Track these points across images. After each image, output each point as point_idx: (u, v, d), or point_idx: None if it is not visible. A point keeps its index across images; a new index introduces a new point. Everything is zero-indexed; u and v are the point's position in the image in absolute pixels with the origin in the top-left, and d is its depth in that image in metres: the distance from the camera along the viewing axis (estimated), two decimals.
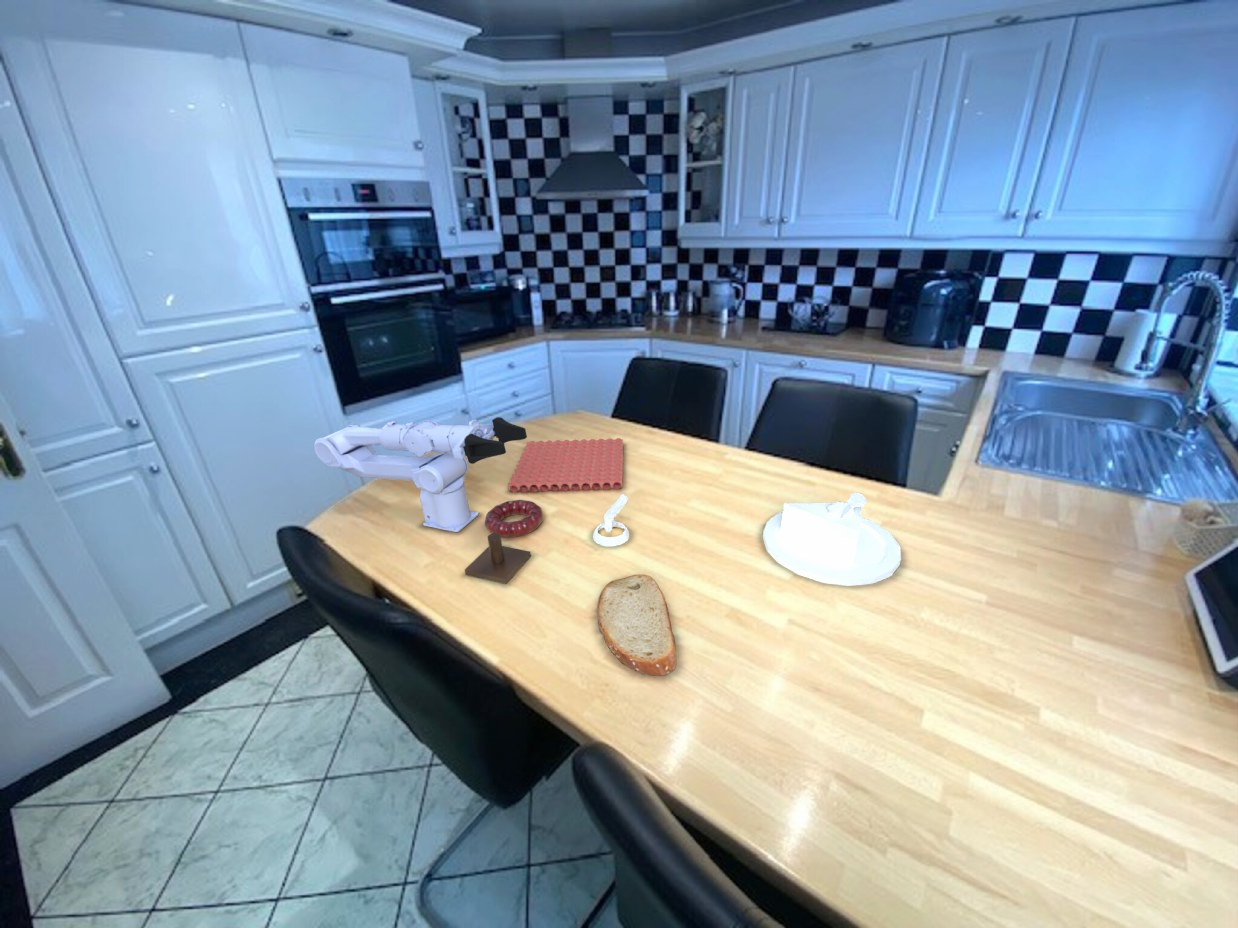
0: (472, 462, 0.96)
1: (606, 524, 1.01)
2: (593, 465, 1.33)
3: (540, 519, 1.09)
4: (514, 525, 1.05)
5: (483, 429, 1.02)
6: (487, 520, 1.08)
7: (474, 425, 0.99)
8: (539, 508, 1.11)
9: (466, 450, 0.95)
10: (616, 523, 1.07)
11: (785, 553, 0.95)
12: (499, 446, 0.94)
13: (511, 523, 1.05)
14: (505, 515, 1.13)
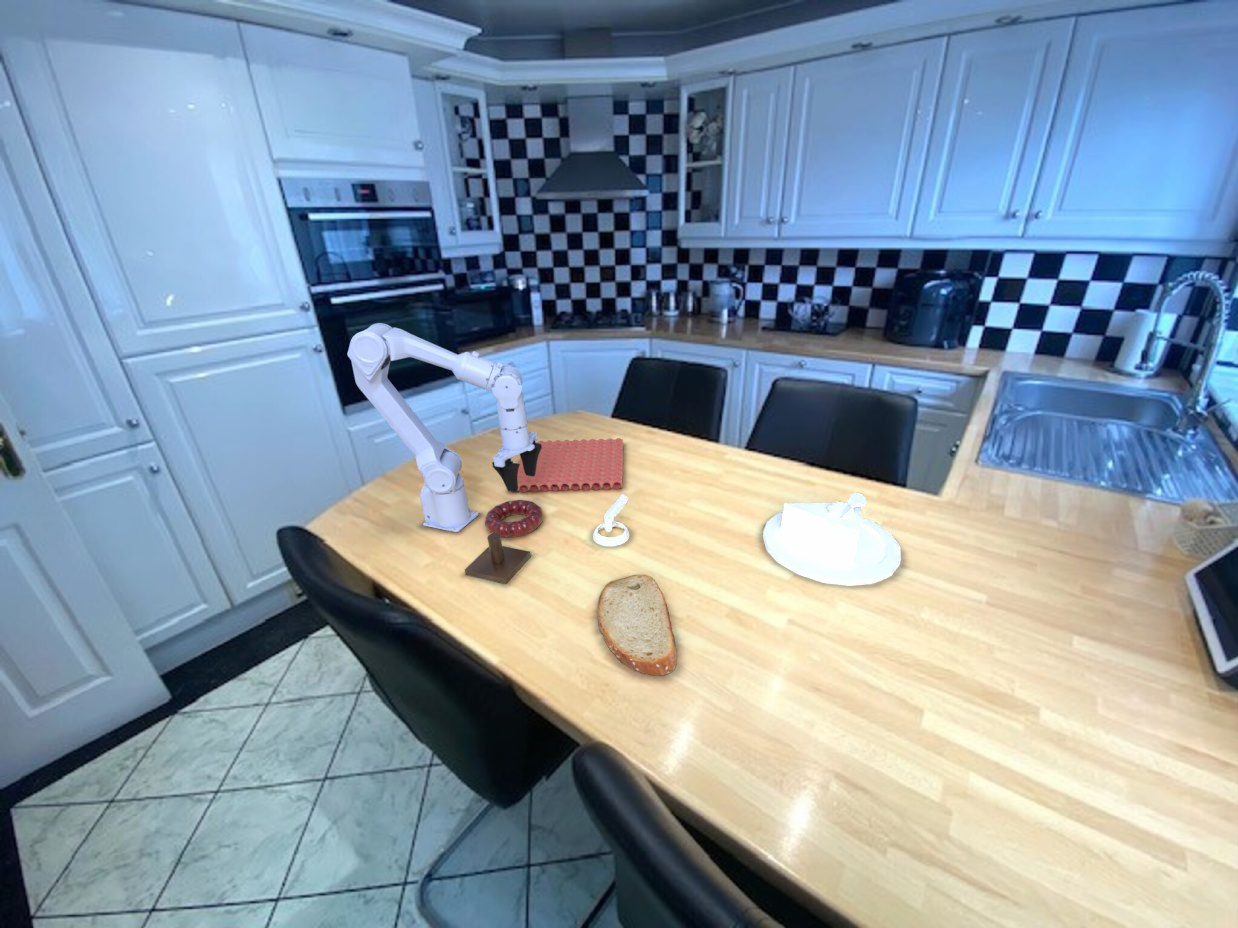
0: (493, 467, 1.05)
1: (606, 524, 1.01)
2: (593, 465, 1.33)
3: (540, 519, 1.09)
4: (514, 525, 1.05)
5: None
6: (487, 520, 1.08)
7: None
8: (539, 508, 1.11)
9: (503, 466, 1.03)
10: (616, 523, 1.07)
11: (785, 553, 0.95)
12: (513, 489, 1.08)
13: (511, 523, 1.05)
14: (505, 515, 1.13)
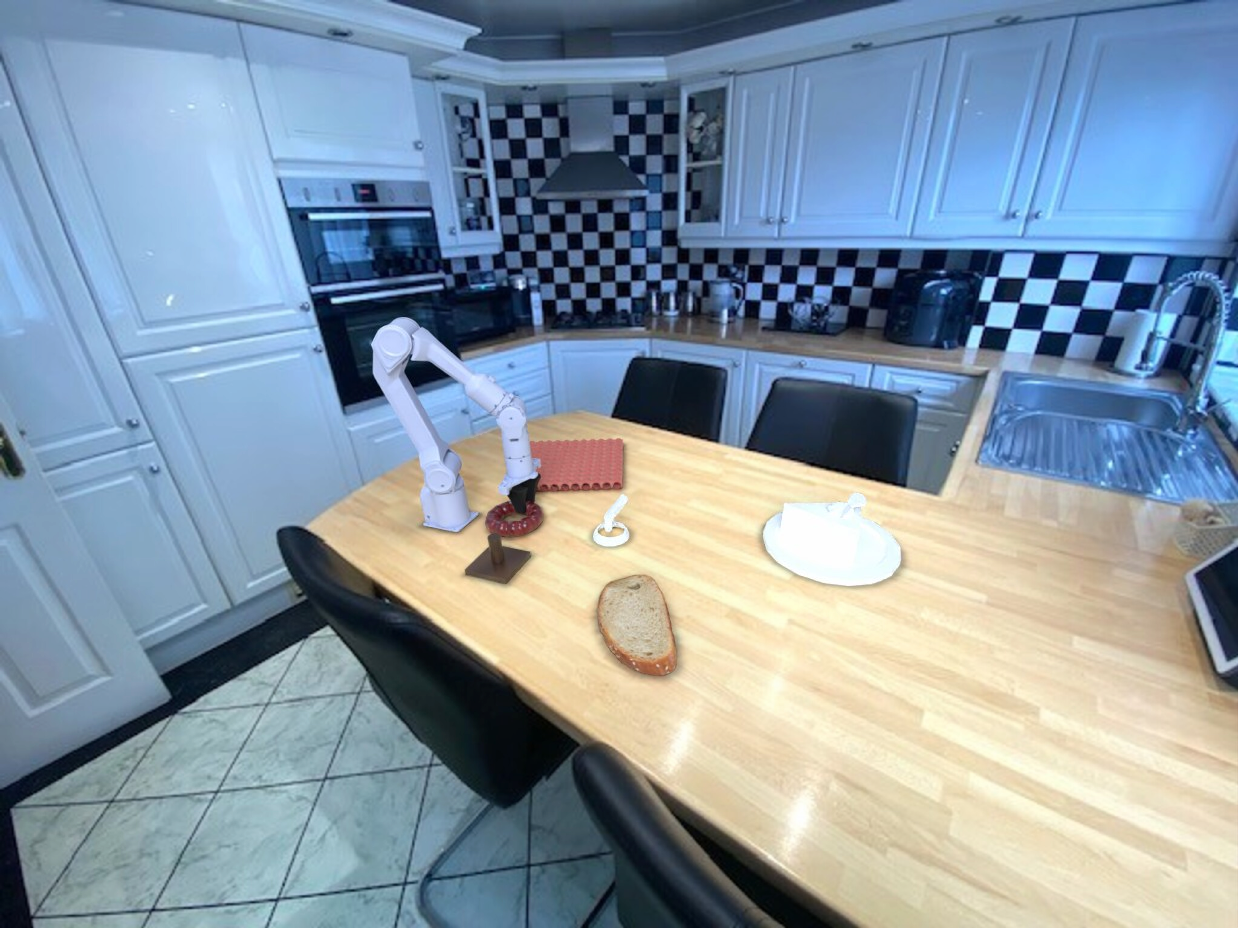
0: None
1: (606, 524, 1.01)
2: (593, 465, 1.33)
3: (540, 519, 1.09)
4: (515, 525, 1.05)
5: None
6: (487, 520, 1.08)
7: None
8: (539, 508, 1.11)
9: (512, 490, 1.08)
10: (616, 523, 1.07)
11: (785, 553, 0.95)
12: (521, 511, 1.12)
13: (511, 523, 1.05)
14: (505, 515, 1.13)
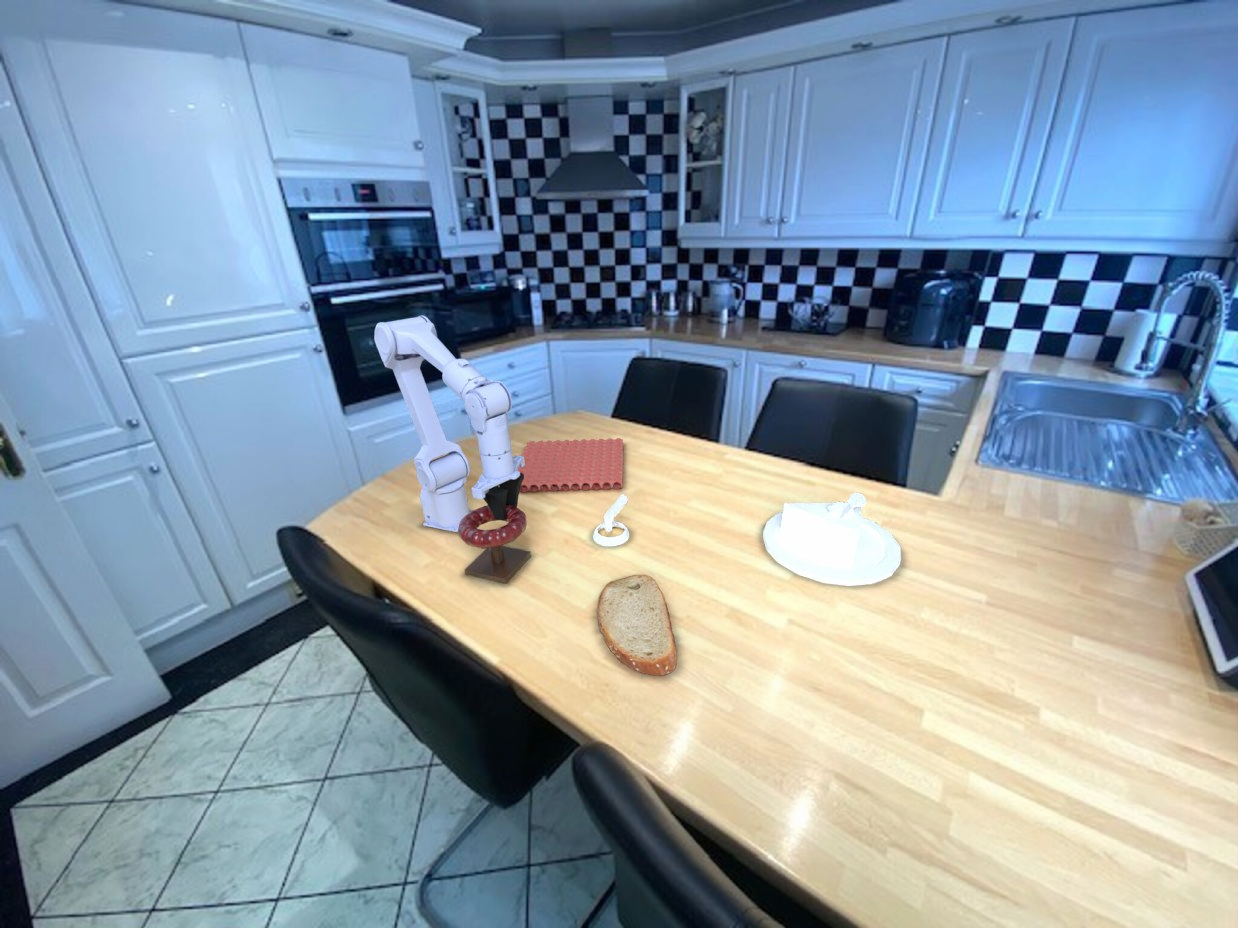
0: None
1: (606, 524, 1.01)
2: (593, 465, 1.33)
3: (523, 527, 0.92)
4: (492, 534, 0.89)
5: None
6: (460, 528, 0.91)
7: None
8: (522, 514, 0.95)
9: (489, 493, 0.91)
10: (616, 523, 1.07)
11: (785, 553, 0.95)
12: (501, 517, 0.95)
13: (488, 531, 0.89)
14: (483, 522, 0.96)
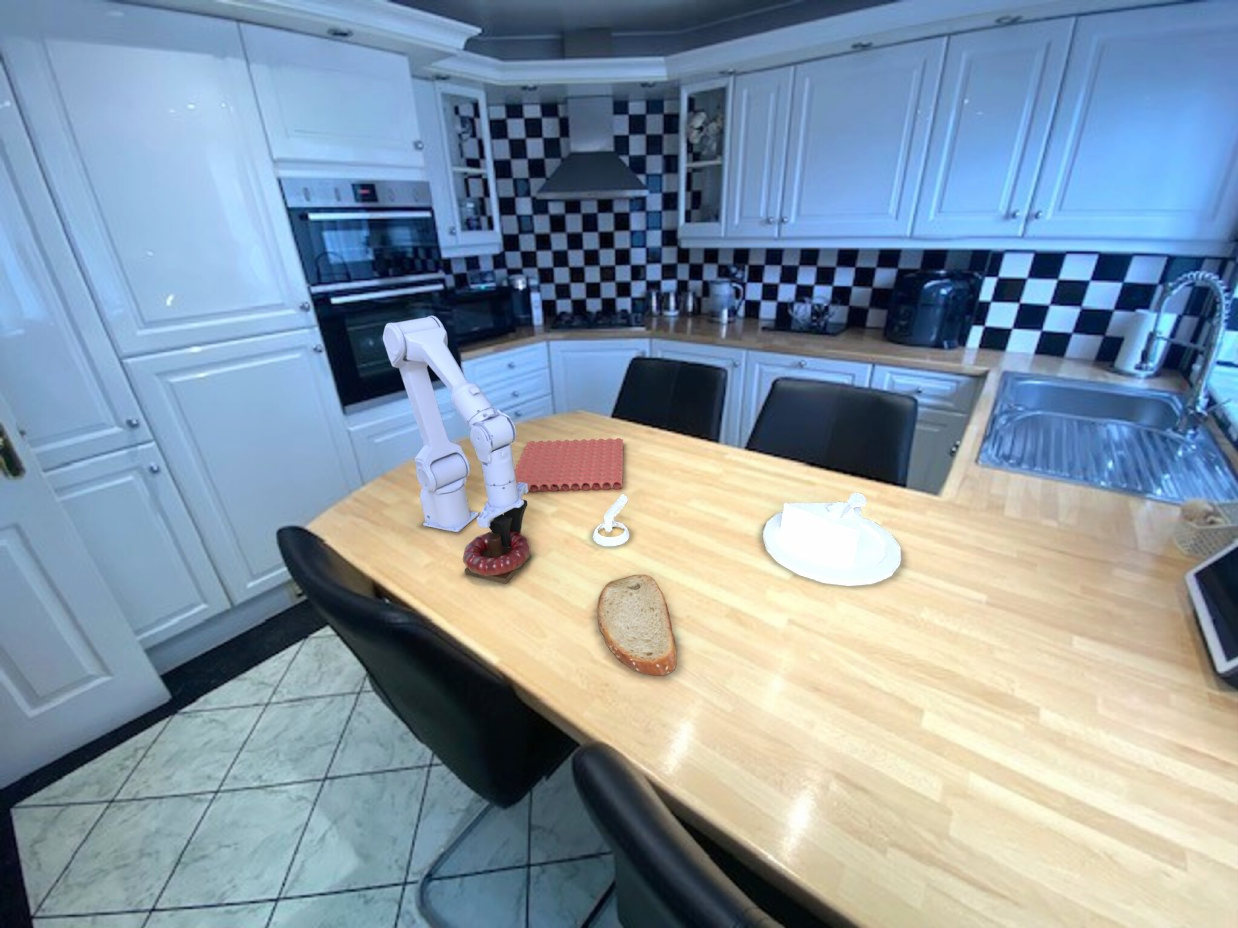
0: None
1: (606, 524, 1.01)
2: (593, 465, 1.33)
3: (526, 554, 0.95)
4: (496, 562, 0.91)
5: None
6: (465, 555, 0.94)
7: None
8: (526, 540, 0.97)
9: (493, 521, 0.94)
10: (616, 523, 1.07)
11: (785, 553, 0.95)
12: (505, 544, 0.98)
13: (492, 560, 0.91)
14: (487, 548, 0.99)
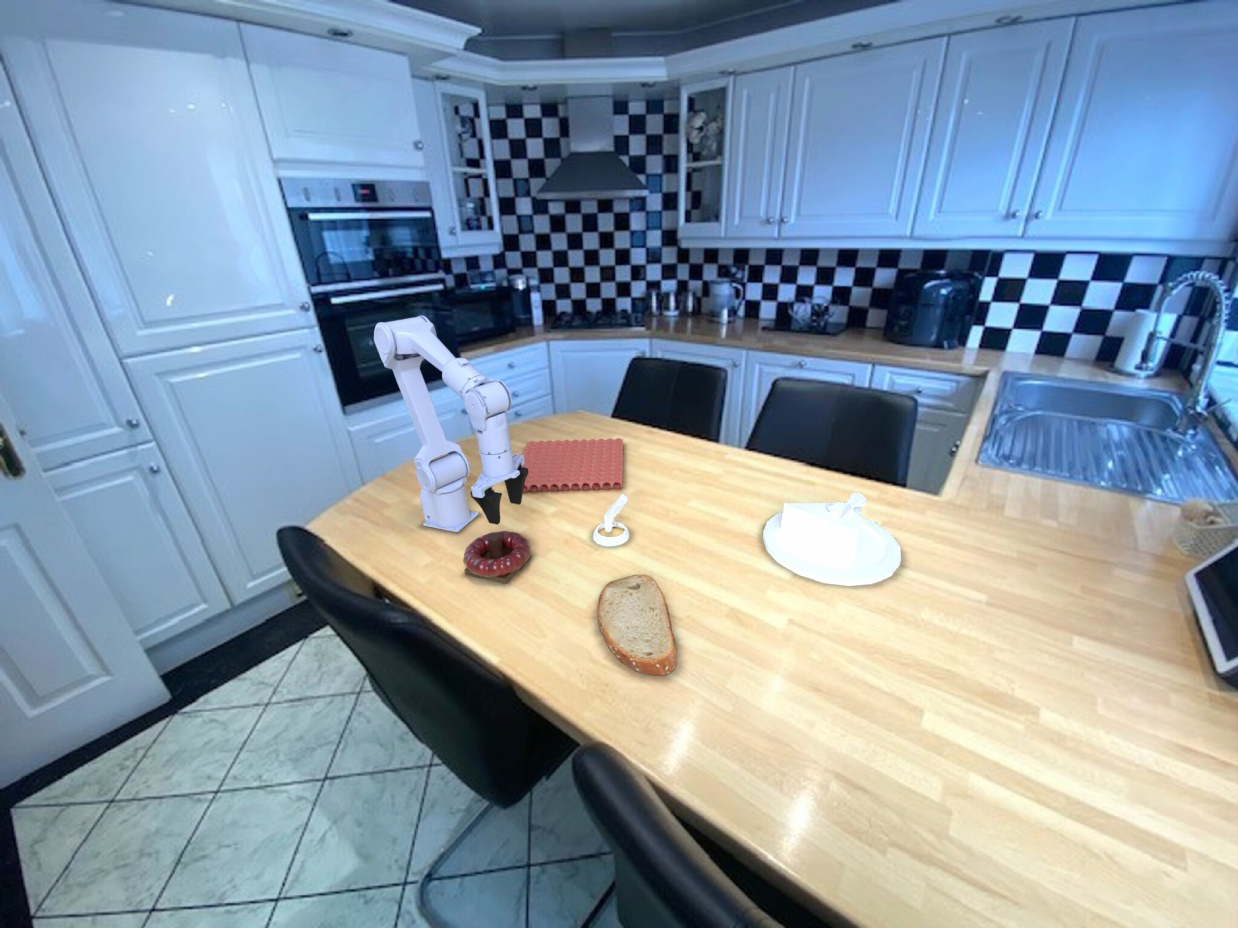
0: (472, 496, 0.91)
1: (606, 524, 1.01)
2: (593, 465, 1.33)
3: (527, 555, 0.95)
4: (496, 564, 0.91)
5: None
6: (466, 556, 0.94)
7: None
8: (526, 542, 0.97)
9: (482, 496, 0.90)
10: (616, 523, 1.07)
11: (785, 553, 0.95)
12: (494, 521, 0.94)
13: (493, 561, 0.92)
14: (487, 549, 0.99)
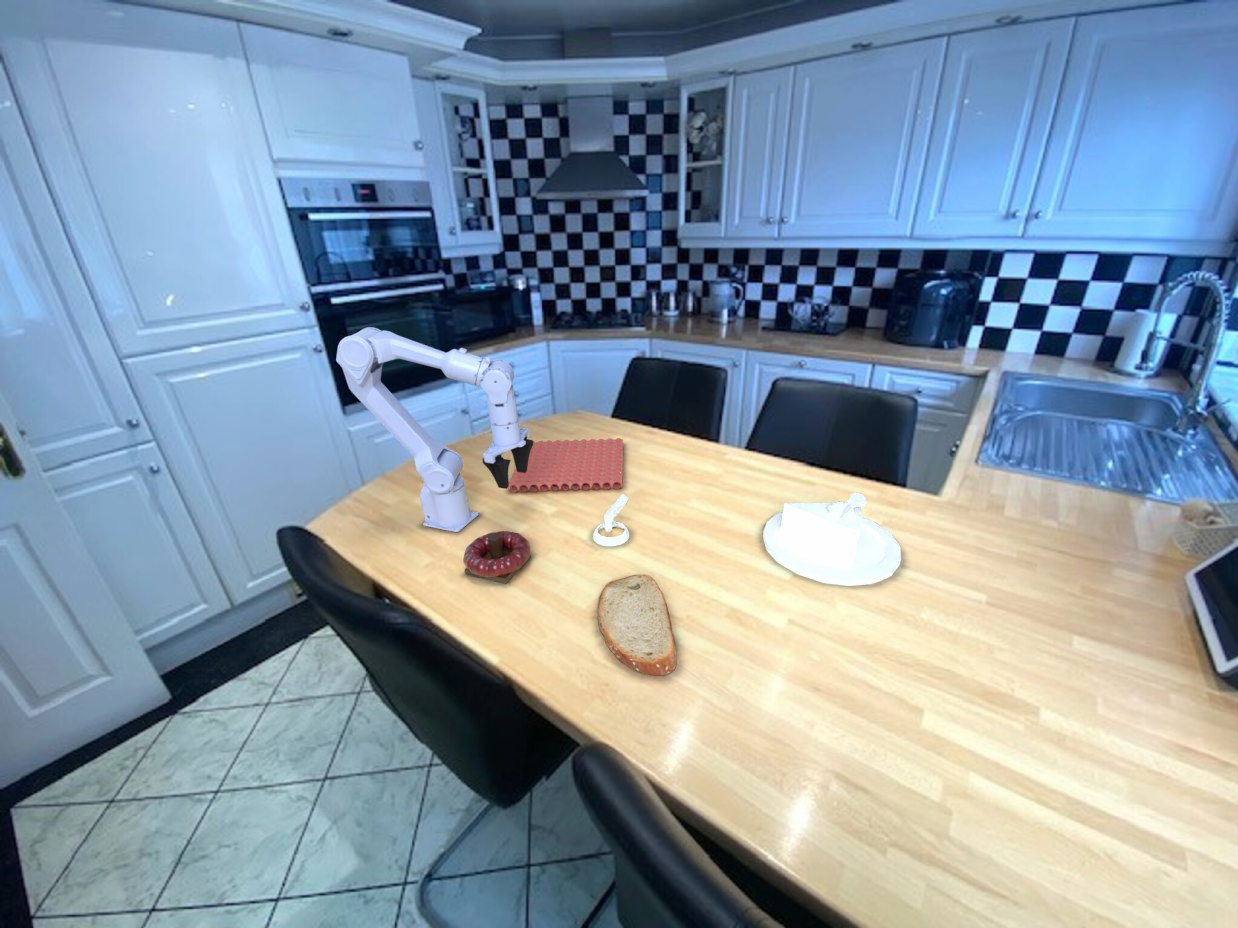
0: (483, 463, 1.03)
1: (606, 524, 1.01)
2: (593, 465, 1.33)
3: (527, 555, 0.95)
4: (496, 564, 0.91)
5: None
6: (466, 556, 0.94)
7: None
8: (526, 542, 0.97)
9: (493, 462, 1.02)
10: (616, 523, 1.07)
11: (785, 553, 0.95)
12: (503, 486, 1.06)
13: (493, 561, 0.92)
14: (487, 549, 0.99)
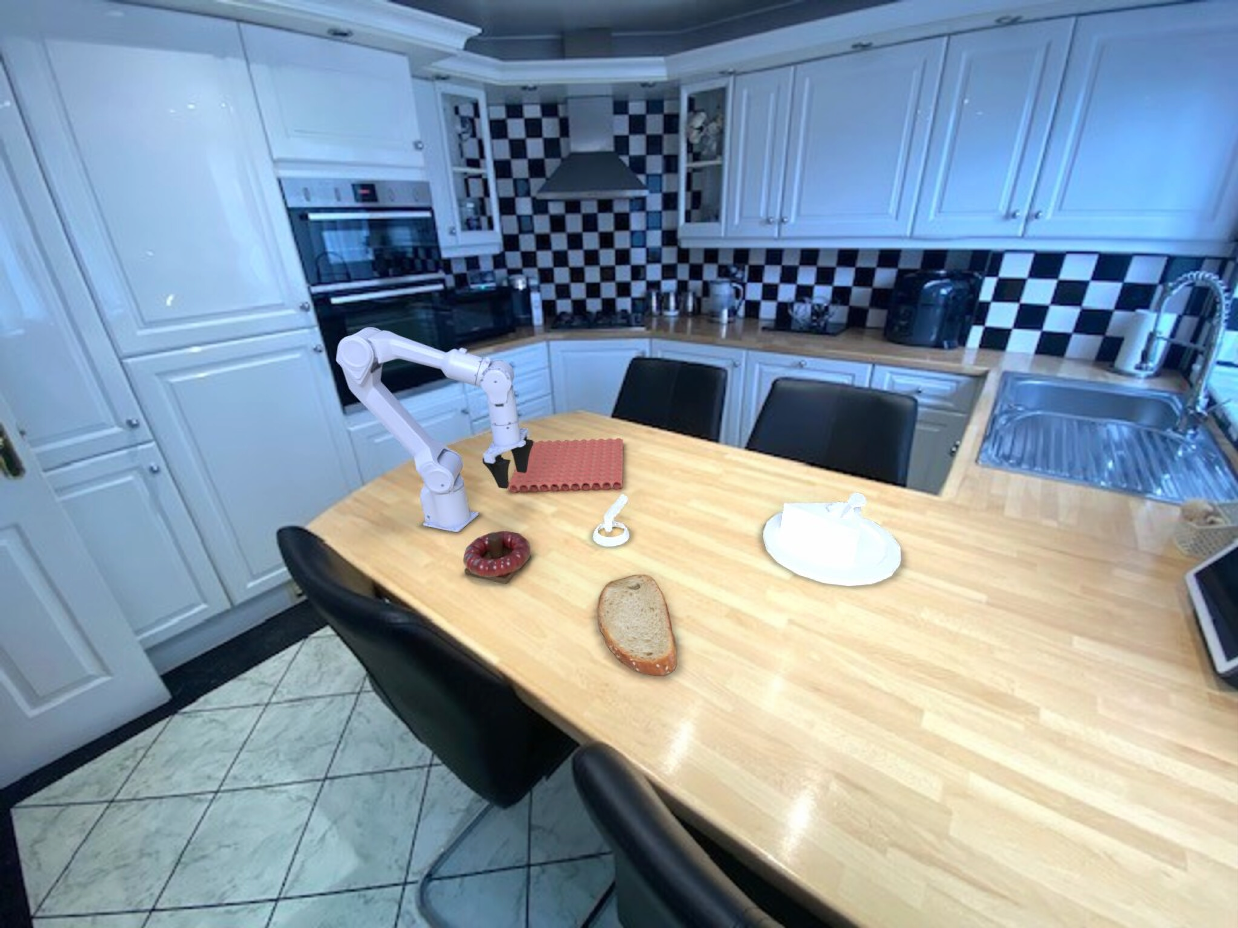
0: (483, 463, 1.03)
1: (606, 524, 1.01)
2: (593, 465, 1.33)
3: (527, 555, 0.95)
4: (496, 564, 0.91)
5: None
6: (466, 556, 0.94)
7: None
8: (526, 542, 0.97)
9: (493, 462, 1.02)
10: (616, 523, 1.07)
11: (785, 553, 0.95)
12: (503, 486, 1.06)
13: (493, 561, 0.92)
14: (487, 549, 0.99)
